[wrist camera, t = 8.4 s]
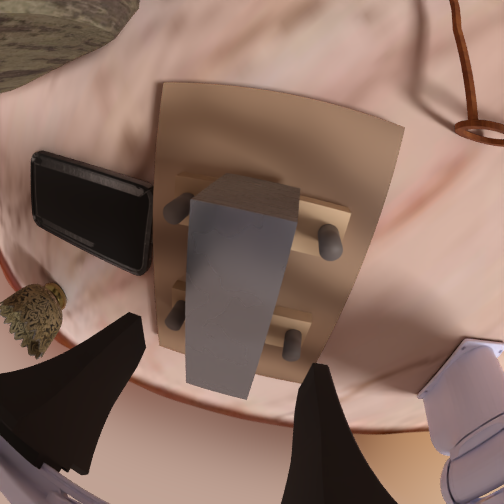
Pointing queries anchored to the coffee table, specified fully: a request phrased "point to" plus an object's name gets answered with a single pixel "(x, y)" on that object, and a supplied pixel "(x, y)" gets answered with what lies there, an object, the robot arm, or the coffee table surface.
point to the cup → (35, 315)
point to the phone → (94, 210)
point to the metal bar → (234, 277)
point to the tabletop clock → (54, 34)
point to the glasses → (470, 89)
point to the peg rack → (279, 171)
